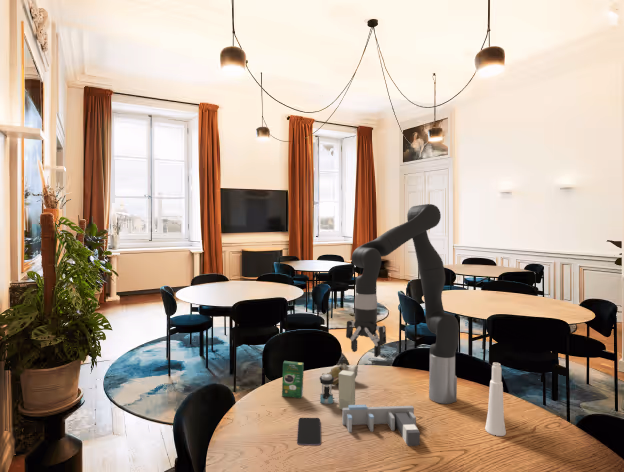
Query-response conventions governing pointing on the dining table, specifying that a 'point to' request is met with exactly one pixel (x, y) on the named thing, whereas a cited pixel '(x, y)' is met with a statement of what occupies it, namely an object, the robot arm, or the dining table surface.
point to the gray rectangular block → (407, 429)
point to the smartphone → (309, 431)
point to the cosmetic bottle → (495, 404)
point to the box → (346, 389)
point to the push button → (326, 389)
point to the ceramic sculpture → (339, 368)
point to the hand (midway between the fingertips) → (365, 353)
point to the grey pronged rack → (374, 415)
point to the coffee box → (292, 379)
